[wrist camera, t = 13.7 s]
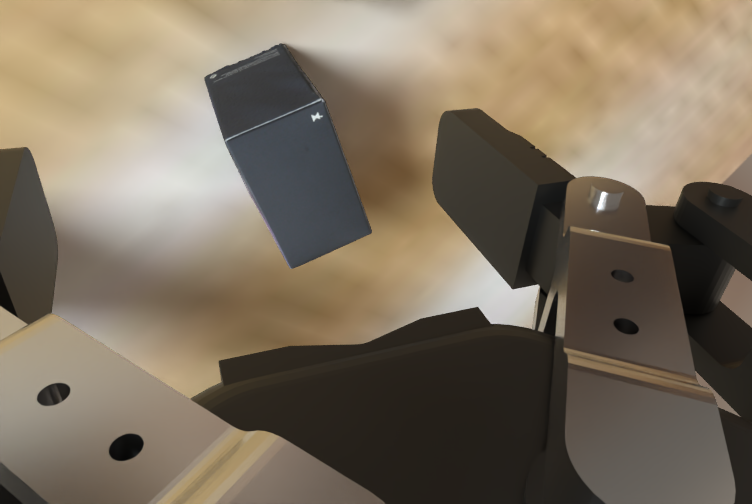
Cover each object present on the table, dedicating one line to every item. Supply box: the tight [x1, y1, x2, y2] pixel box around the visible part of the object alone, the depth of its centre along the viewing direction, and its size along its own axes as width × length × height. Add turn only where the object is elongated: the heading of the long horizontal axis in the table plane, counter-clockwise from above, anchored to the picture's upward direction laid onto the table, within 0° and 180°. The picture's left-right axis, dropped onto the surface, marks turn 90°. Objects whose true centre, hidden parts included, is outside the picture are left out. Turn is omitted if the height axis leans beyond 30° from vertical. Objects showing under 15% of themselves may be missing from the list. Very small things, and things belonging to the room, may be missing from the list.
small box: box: [205, 43, 372, 269], centre depth 40 cm, size 11×6×10 cm, turn 16°
